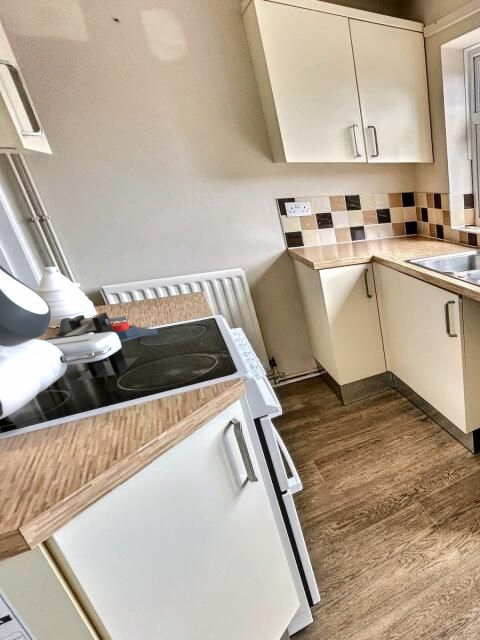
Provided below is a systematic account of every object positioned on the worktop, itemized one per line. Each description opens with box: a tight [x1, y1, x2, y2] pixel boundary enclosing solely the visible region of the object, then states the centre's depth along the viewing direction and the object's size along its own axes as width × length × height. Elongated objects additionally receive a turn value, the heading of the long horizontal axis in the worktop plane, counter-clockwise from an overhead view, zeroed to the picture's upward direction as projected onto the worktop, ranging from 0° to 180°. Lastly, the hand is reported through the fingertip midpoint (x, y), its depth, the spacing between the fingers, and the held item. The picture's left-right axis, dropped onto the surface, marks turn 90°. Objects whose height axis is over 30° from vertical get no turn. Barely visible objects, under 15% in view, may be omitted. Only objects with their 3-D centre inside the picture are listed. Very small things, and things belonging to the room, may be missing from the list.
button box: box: [114, 324, 159, 343], centre depth 118 cm, size 12×9×4 cm
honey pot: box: [34, 266, 98, 326], centre depth 134 cm, size 13×13×18 cm
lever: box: [44, 317, 97, 340], centre depth 89 cm, size 13×6×2 cm, turn 23°
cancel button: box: [111, 321, 130, 332], centre depth 117 cm, size 4×4×2 cm
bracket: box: [69, 312, 139, 382], centre depth 96 cm, size 11×8×14 cm
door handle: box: [54, 315, 128, 337], centre depth 128 cm, size 3×20×16 cm
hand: (68, 339), depth 85 cm, fingers closed on lever, 5 cm apart
